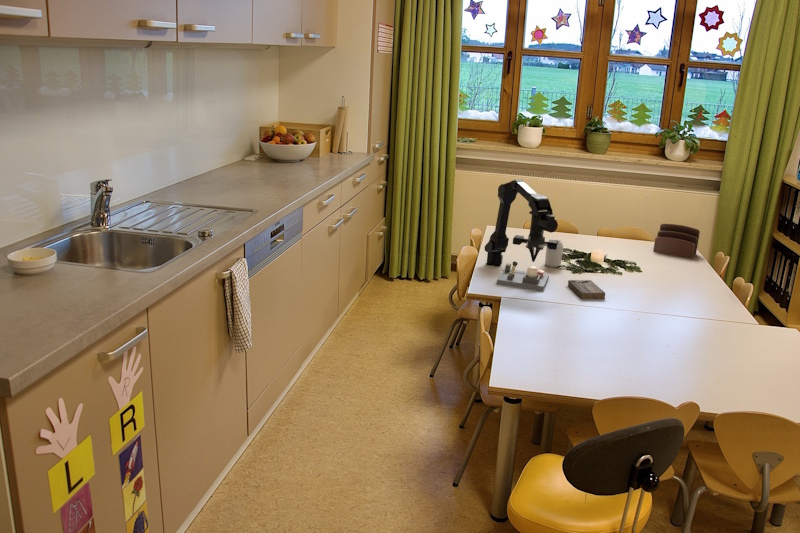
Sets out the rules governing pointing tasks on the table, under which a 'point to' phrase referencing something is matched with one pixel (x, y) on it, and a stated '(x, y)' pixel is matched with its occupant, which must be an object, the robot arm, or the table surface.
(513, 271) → the lever
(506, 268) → the slider
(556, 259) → the can
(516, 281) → the panel
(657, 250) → the letter holder
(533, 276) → the button
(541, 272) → the rocker
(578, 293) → the grey flat block
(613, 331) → the table surface
